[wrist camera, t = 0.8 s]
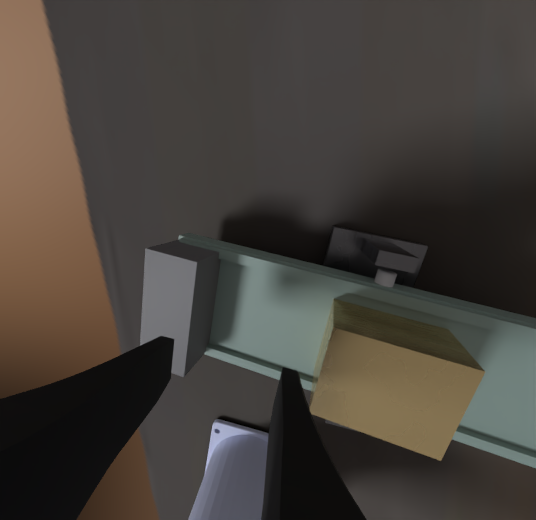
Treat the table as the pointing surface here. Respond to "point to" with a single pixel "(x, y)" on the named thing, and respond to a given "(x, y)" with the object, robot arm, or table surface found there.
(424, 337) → the block
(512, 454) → the beam
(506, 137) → the table surface
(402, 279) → the pivot stand
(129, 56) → the table surface
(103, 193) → the table surface
